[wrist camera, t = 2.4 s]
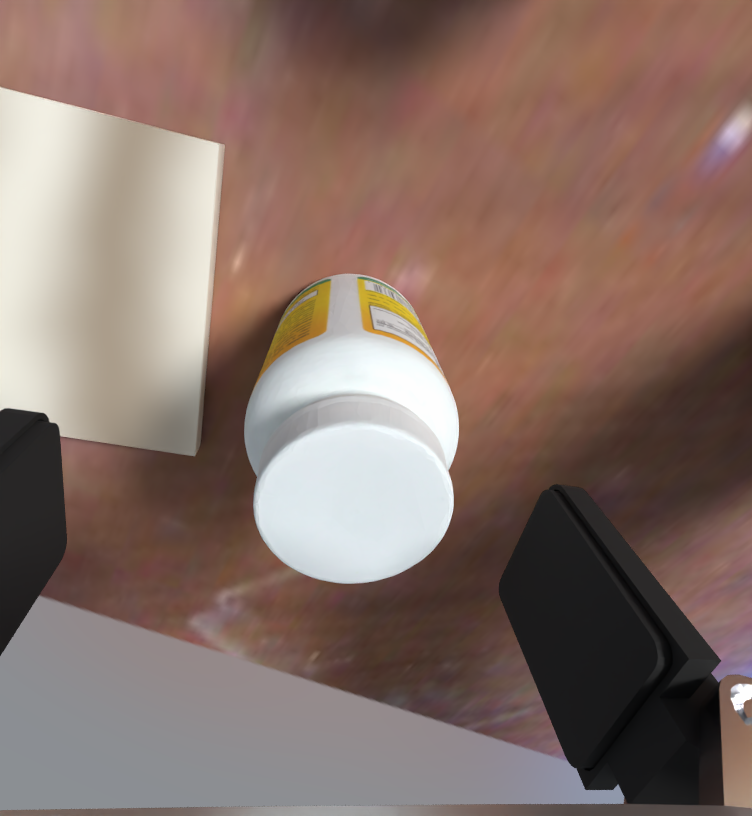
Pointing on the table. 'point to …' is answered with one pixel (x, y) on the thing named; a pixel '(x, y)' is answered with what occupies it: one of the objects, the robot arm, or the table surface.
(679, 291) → the table surface
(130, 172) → the bottle caddy
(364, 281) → the supplement bottle
